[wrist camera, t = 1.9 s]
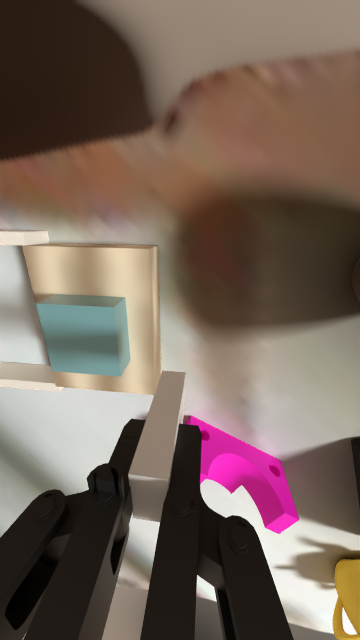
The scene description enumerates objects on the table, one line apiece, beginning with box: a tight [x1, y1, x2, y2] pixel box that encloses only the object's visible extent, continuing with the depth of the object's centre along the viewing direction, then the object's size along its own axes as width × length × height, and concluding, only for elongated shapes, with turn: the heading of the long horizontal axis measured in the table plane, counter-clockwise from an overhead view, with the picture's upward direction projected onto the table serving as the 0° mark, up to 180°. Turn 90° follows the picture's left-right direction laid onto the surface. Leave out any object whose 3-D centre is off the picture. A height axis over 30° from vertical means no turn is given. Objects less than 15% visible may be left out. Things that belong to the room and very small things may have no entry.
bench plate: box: [22, 243, 161, 395], centre depth 25 cm, size 12×16×4 cm
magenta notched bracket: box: [185, 416, 299, 534], centre depth 30 cm, size 15×6×8 cm, turn 62°
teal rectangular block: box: [36, 294, 131, 377], centre depth 22 cm, size 7×7×3 cm
